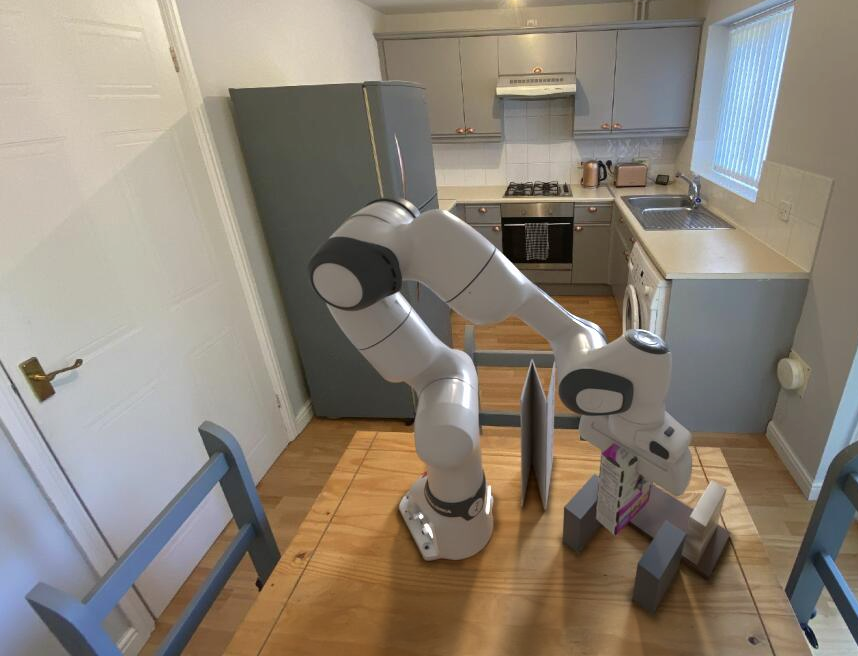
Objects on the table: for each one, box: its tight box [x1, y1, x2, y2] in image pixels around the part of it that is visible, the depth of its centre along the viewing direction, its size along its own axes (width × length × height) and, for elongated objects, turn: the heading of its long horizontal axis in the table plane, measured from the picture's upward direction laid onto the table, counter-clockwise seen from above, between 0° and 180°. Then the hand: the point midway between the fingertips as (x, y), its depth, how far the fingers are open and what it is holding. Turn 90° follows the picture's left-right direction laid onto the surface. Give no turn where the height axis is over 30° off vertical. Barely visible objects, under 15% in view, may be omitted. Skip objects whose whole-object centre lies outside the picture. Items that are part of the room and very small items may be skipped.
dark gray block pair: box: [562, 473, 686, 616], centre depth 82 cm, size 20×11×10 cm, turn 46°
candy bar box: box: [596, 443, 651, 537], centre depth 76 cm, size 11×5×16 cm, turn 131°
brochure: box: [519, 358, 556, 511], centre depth 95 cm, size 14×6×30 cm, turn 168°
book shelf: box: [627, 480, 732, 581], centre depth 89 cm, size 26×12×12 cm, turn 46°
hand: (626, 478), depth 76 cm, fingers closed on candy bar box, 5 cm apart
